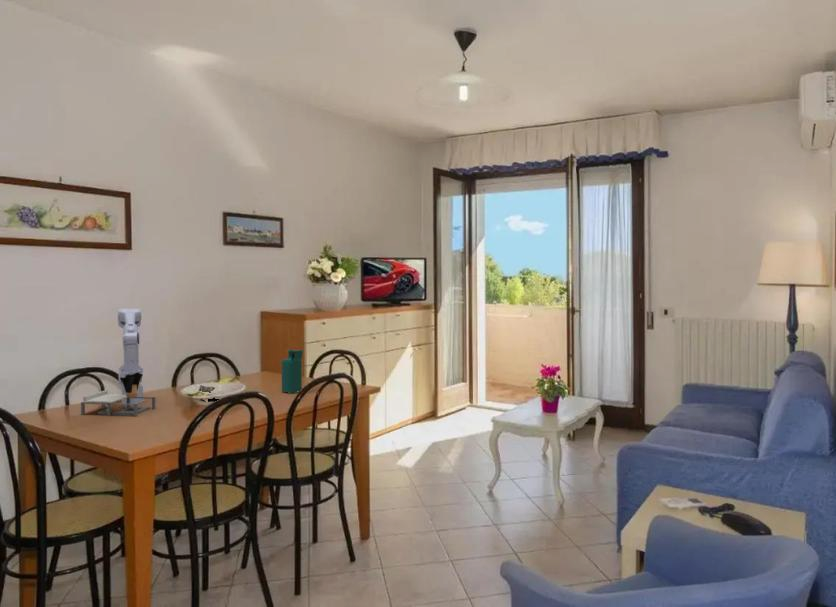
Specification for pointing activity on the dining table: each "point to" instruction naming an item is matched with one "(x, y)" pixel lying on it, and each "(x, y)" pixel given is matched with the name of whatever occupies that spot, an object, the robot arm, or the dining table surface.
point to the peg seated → (116, 406)
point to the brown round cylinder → (133, 391)
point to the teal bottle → (292, 371)
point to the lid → (104, 397)
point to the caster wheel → (206, 389)
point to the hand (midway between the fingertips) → (131, 391)
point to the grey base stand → (125, 409)
